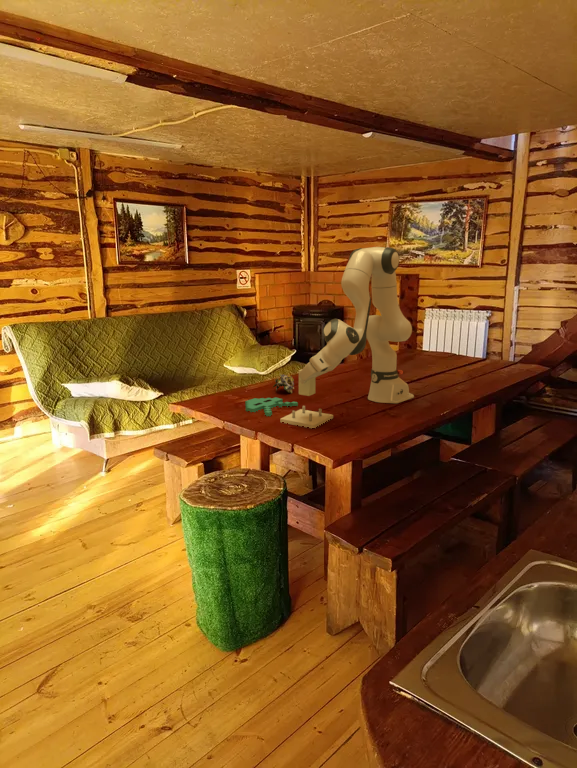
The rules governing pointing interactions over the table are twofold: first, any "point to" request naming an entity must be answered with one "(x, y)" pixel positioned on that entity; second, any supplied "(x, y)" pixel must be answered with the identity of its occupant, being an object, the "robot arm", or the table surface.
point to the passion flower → (285, 383)
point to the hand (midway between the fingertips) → (305, 380)
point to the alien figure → (266, 404)
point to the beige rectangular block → (307, 387)
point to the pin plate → (306, 418)
